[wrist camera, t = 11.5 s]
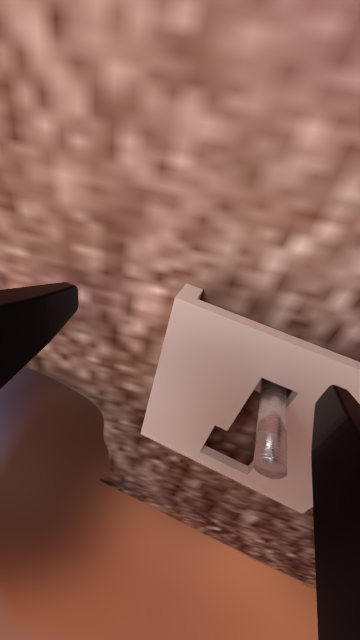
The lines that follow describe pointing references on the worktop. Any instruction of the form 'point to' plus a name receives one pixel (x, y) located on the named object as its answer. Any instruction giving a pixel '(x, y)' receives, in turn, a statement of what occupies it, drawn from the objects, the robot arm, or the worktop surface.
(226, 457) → the keyhole board
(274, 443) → the steel peg
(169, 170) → the worktop surface
